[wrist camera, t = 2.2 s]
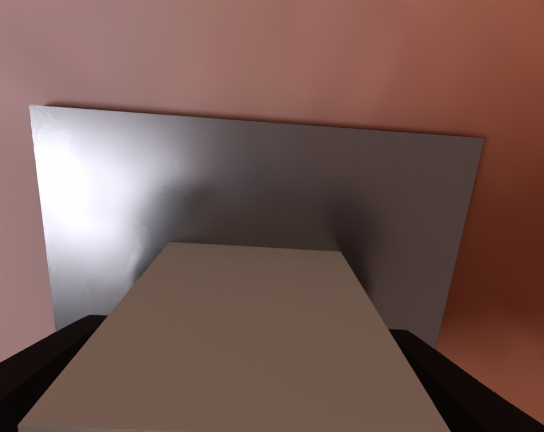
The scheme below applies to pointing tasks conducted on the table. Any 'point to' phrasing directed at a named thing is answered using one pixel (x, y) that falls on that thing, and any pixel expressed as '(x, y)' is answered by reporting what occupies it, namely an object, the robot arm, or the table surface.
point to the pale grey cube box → (239, 352)
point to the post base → (249, 202)
